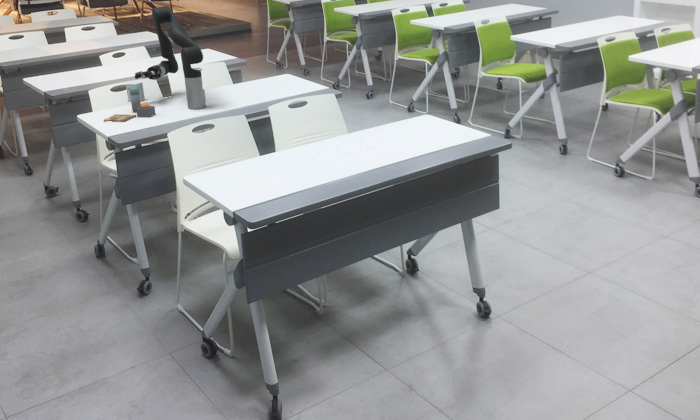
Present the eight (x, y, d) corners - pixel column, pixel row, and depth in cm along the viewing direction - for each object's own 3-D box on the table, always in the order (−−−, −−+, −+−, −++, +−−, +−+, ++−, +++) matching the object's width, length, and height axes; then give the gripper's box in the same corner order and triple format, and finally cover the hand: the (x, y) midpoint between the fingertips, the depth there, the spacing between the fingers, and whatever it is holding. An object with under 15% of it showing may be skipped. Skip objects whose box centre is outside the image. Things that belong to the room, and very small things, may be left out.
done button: (151, 108, 393) (150, 102, 392) (147, 110, 389) (146, 104, 388) (143, 108, 394) (143, 102, 393) (139, 109, 390) (139, 104, 389)
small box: (145, 99, 432) (142, 82, 429) (139, 101, 427) (137, 83, 424) (133, 99, 435) (131, 81, 431) (128, 101, 430) (125, 83, 426)
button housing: (155, 114, 395) (154, 105, 393) (149, 117, 389) (148, 108, 387) (143, 113, 397) (142, 105, 395) (137, 116, 390) (136, 108, 389)
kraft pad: (136, 116, 391) (135, 114, 391) (124, 121, 380) (124, 119, 380) (115, 116, 394) (115, 114, 393) (103, 121, 383) (103, 119, 382)
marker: (143, 110, 405) (140, 87, 400) (138, 112, 400) (135, 88, 396) (135, 110, 406) (131, 87, 401) (130, 112, 401) (127, 88, 397)
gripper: (144, 65, 422) (130, 70, 408) (166, 65, 419) (153, 70, 405) (145, 78, 425) (131, 83, 410) (168, 78, 422) (155, 84, 407)
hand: (142, 77), depth 408 cm, fingers open, 8 cm apart
